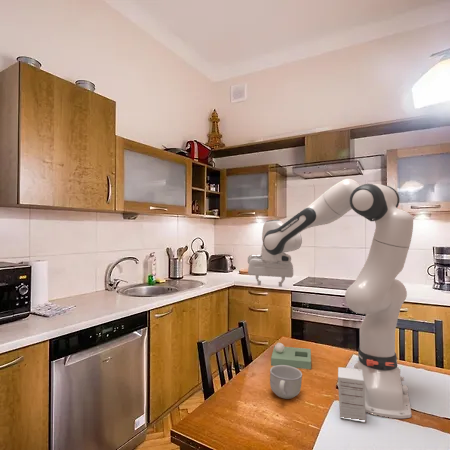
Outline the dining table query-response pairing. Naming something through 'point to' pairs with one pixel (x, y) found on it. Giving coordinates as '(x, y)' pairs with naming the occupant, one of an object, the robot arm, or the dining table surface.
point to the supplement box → (351, 393)
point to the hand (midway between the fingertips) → (269, 285)
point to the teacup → (285, 381)
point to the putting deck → (292, 357)
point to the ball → (279, 347)
